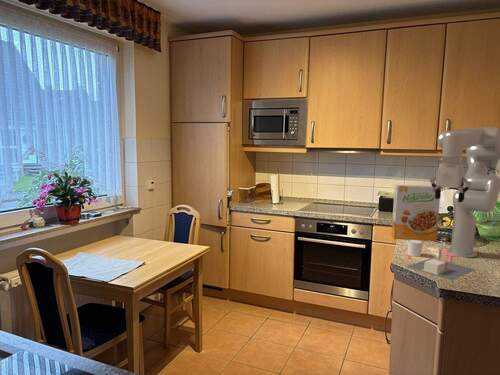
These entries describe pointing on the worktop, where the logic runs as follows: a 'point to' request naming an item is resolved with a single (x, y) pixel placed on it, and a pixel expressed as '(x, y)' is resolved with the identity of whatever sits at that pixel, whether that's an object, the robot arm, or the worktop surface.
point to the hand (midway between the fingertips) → (448, 200)
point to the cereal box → (415, 213)
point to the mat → (449, 273)
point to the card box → (435, 265)
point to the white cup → (414, 247)
